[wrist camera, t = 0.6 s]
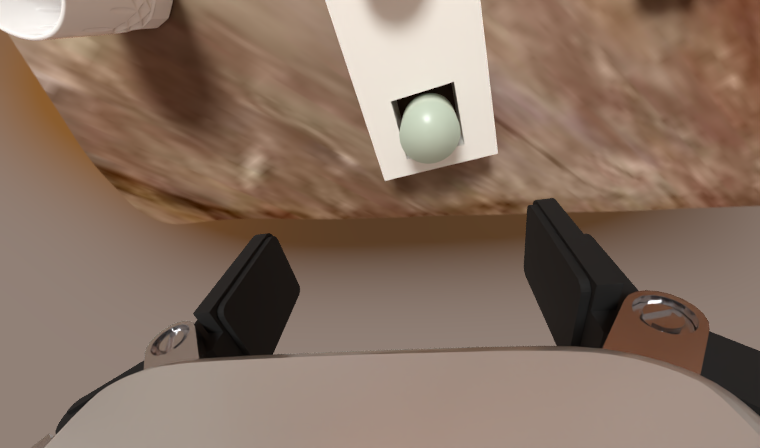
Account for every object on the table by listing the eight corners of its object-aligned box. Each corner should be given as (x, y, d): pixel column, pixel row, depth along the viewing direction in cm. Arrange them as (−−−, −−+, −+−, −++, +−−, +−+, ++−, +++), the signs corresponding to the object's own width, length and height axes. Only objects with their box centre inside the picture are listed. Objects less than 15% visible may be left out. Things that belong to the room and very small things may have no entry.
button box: (450, -169, 19) (456, -211, 15) (489, 138, 28) (498, 153, 25) (308, -93, 21) (287, -116, 18) (388, 164, 31) (384, 180, 28)
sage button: (449, 85, 24) (454, 94, 20) (459, 138, 26) (465, 155, 22) (396, 102, 25) (392, 113, 21) (409, 152, 27) (407, 169, 24)
